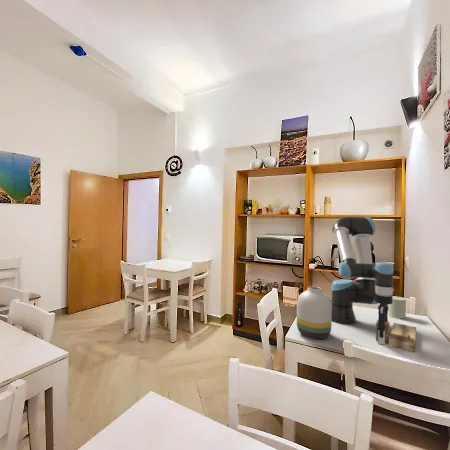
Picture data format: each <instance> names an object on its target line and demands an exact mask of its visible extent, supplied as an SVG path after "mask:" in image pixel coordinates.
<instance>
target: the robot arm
mask: <svg viewBox="0 0 450 450" xmlns="http://www.w3.org/2000/svg"><path fill="white" fill-rule="evenodd" d="M331 232H332V235H333V237H334V238H335V241H336V245H337V250H338V253H339V258H340V262H339V263H338V274H339V276H341V277H345V279H335V280H334V281H332V282H331V288H330V289H331V296H330V297H331V299H330V300H331V304H332V322H334V323H338V324H343V325H344V324H345V325H350V324H355V323H356V321H357V319H356V315H355V314H356V313H355V312H354V308H353V304H364V305H366V304H367V305H378V307H377V309H378V317H377V318H378V319H377V320H378V328H377V330H378V341H377V343H378V345H379V344H380V345H383V346H385V344H386V343H385V321H386V322H389V320H388V319H389V318H388V317H389V315H388V314H389V304H392V303H393V297H392V296H393V293H394V292H395V288H393V287H394V286H393V285H394V272H395V271H394V265H393V264H392V263H390V262H382V261H381V262H380V261H379V262H373V256H372V255H373V254H372V249H371V248H372V247H371V239H372V238H373V236H374V235H375V234H376V224H375V222H374V219H373V218H372V217H369V216H342V217H340V218H339V219H337V220H336V221H335V222H334V224H333V226H332V231H331ZM349 235H350V236H351V238H352V240H354V246H355V252H354V248H353V245H352V243H351V239H350V236H349ZM346 278H355V281H353V280H352V279H346ZM380 327H381V328H380Z"/></svg>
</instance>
